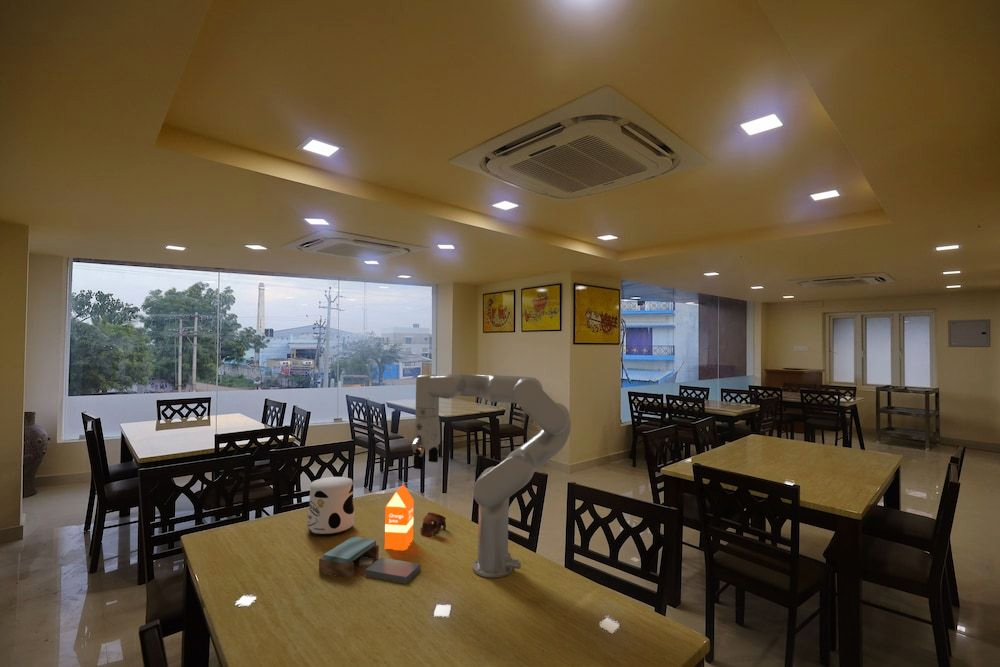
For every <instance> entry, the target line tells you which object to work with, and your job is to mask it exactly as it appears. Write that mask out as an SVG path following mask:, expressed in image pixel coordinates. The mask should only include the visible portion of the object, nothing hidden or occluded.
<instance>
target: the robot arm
mask: <svg viewBox="0 0 1000 667" xmlns="http://www.w3.org/2000/svg"><path fill="white" fill-rule="evenodd" d="M415 380H416V381H415V413H414V414H415V415H414V416H415V417H414V418H415V422H414V431H413V442H412V443H411V444H410V445H411V452H412V457H413V469H415V470H423V469H424V455H423V454H424V453H425V450H428V462H430V463H438V461H439V449H440V446H439V445H440V444H441V423H440V417H439V412H440V398H441V399H449V400H450V399H453V398H455V397H475V398H482V399H484V400H486V401H488V402H491V403H505V404H506V403H507V404H509V403H510V404H517V405H518V406H519V407H520V408H521V409H522V410H523V412H525V414H526V415H527V416H528V417H530V418H529V419H532V421H533V422H534V423H535V424H536V425H537V426H538V427H539V428H540V429H541V430H539V432H538V433H537V434H535V435H534V436H532V437H531V438H530V439H529V440H527V441H526V442H525V443H523V444H522V445H520V446H519V447H517V448H516V449H514V450H513V451H511V452H509V454H508V455H507V456H506V457H505V459H504V460H502V461H501V462H500V463H499V464H497V465H496V466H490V467H487V468H486V469H484V470H483V472H481V474H480V475H479V476H478V478H477V479H476V481H475V483H474V485H473V488H472V496H473V499H474V500H475V503H477V504H478V516H477V518H478V519H477V520H478V524H477V527H478V530H477V532H478V533H477V537H478V538H477V559H476V560H475V561H474V562H473V564H472V570H473V572H474V573H475V574H477V576H481V577H482V578H483V577H484V578H491V579H494V578H502V577H506V576H507V575H509V574H511V573H512V571H513V569H516V570H520V569H521V566H522V565H521V564H522V563H521V562H520V559H519V558H512V556H511V554H512V553H511V552H509V513H510V512H509V508H510V507H509V505H510V497H512V496H513V495H515V494H516V493H518V491H520V490H521V489H522V488H524V487H525V486H527V484H529V482H530V481H531V480H532V479H533V476H534V473H535V472H536V471H537V470H538V469H539V468H541V467H543V466H544V465H545V464H546V463H547V462H549V461H550V460H551V459H552V458H554V457H555V456H556V455H557V454H558V453H559V452H560V451H561V450H562V449H563V448H564V446H566V443H567V441H568V440H569V436H570V434H571V428H572V424H571V415H570V412H569V410H568V408H567V407H566V406H565V405H564V404H562V403H561V402H560V403H559V402H555V401H554V400H553V399H552V398H551V397H550V396H549V395H548V394H547V393H546V392H545V391H544V390H543V389H544V388H543V386H542V382H541V381H540V380H538V379H537V378H535V377H532V376H517V375H516V376H513V375H496V374H494V375H493V374H486V375H485V374H470V373H469V374H467V373H451V374H446V375H437V374H429V373H428V374H420V375H417V377H416V379H415Z"/></svg>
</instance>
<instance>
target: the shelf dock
mask: <svg viewBox="0 0 1000 667" xmlns="http://www.w3.org/2000/svg"><path fill="white" fill-rule="evenodd" d="M379 548H380V545H379V544H377V539H372V538H367V537H359V536H352V537H349V538H348V539H346V540H344V541H343V542H341V543H340V544H338V545H336V546H335V547H333V548H332V549H330V550H329V551H327V552H325V553H324V554H322V556H321V557H320V558H319V559H318V573H319V572H320V573H319V574H323V573H326V574H325V575H328V574H331V575H330V576H333V575H336V576H335V577H340V578H344V577H345V579H350V580H352V579H353V578H354V576H355V574H354V573H355V563H354V562H353V561H355V560H357V559H358V558H363V559H368V560H376V561H377V560H379V559H380V558H379V554H380V553H379V552H380V551H379ZM352 577H353V578H352Z"/></svg>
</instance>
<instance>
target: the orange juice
mask: <svg viewBox="0 0 1000 667" xmlns="http://www.w3.org/2000/svg"><path fill="white" fill-rule="evenodd" d="M414 503H415V500H414V498H413V497H412V495H411V493H410V492H409V490H408V489H407V487H406V485H405V484H402V485H401V486H400V487H399V488H398V489H397V490H396V491H395V492H394V494H393V495H392V497H391V498H390V500H389V501H388V502H387V503H386V506H385V509H384V510H385V512H384V513H385V520H384V550H386V549H393V550H392V551H404V550H406V549H407V550H408V548H409V547H410V545H411V544H412V543H411V542H413V541H414V516H415V515H414V511H415V510H414V509H415V508H414V506H415V505H414ZM412 540H413V541H412ZM410 543H411V544H410ZM408 546H409V547H408ZM407 550H406V551H407Z"/></svg>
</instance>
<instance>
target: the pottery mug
mask: <svg viewBox="0 0 1000 667" xmlns="http://www.w3.org/2000/svg"><path fill="white" fill-rule="evenodd" d="M446 519H447V518H446V517H445V516H444V515H441V514H439V513H434V512H430V511H429V512H427V515H425V516H424V518H423V520H422V526H421V527H420V531H419V534H420V533H421V535H423V536H427V537H429V536H431V537H432V534H433V535H438V534H439V533H440V530H441V528H442V529H445V530H446V529H447V522H446ZM432 522H433V523H432Z"/></svg>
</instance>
